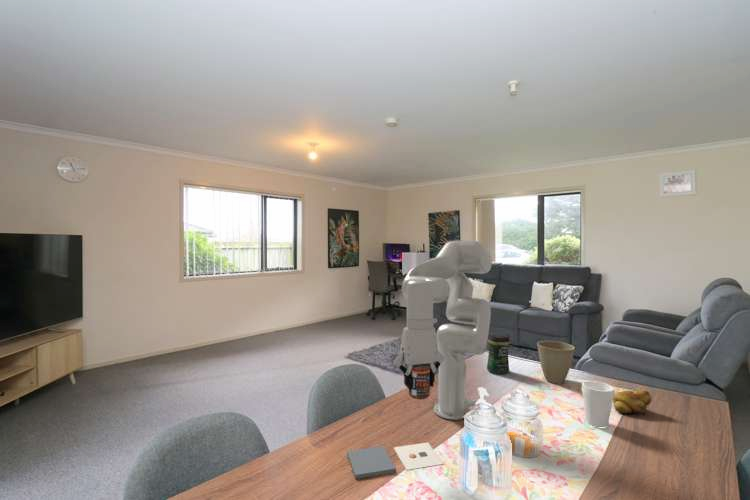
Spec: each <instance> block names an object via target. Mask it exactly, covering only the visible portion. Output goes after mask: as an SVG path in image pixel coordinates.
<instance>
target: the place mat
mask: <svg viewBox="0 0 750 500" xmlns="http://www.w3.org/2000/svg"><path fill="white" fill-rule="evenodd" d="M346 456H347V460H348V461H349V465H350V468H351V469H352V474H353V477H354V479H362V478H368V477H375V476H382V475H388V474H392V473H393V474H394V473H396V472H397V468H396V466H395V464H394V461H393V460H392V459H391V456H390V455H389V453H388V451H387V449H386V447H385V446H384V445H382V446H373V447H368V448H367V447H366V448H361V449H353V450H347V451H346Z"/></svg>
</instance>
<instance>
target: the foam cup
mask: <svg viewBox="0 0 750 500" xmlns="http://www.w3.org/2000/svg"><path fill="white" fill-rule="evenodd" d="M581 393H582V399H583V407H584V409H583V410H584V416H585V423H586V422H587V423H588V424H587V423H586V424H587V425H589V424H590V425H592V426H591V427H593V426H595V427H594V428H596V427H606V426H608V427H609V422H610V415H611V410H612V406H613V397H614V394H615V388H614V386H612V385H610V384H608V383H605V382H601V381H597V380H583V381H582V382H581ZM590 425H589V426H590Z"/></svg>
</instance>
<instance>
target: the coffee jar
mask: <svg viewBox="0 0 750 500" xmlns="http://www.w3.org/2000/svg"><path fill="white" fill-rule="evenodd" d="M510 340H511V339H510V334H509V333H508V332H507V333H506V332H503V331H502V332H500V331H499V332H490V333H488V340H487V343H488V358H487V363H486V364H487V365H486V370H487V371H488V372H489V371H490V372H489V373H491V372H492V373H493V374H496V375H499V374H508V373H509V372H510V364H509V363H510V362H509V346H510V342H511V341H510Z"/></svg>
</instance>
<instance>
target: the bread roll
mask: <svg viewBox="0 0 750 500" xmlns="http://www.w3.org/2000/svg"><path fill="white" fill-rule="evenodd" d="M651 402H652V396H651V393H649V392H648V391H647V390H635V391H632V390H628V389H622V391H618V392H614V397H613V401H612V403H613V407H614V409H615V410H616V411H617V412H618V413H621V412H622V414H625V413H629V414H632V413H631V412H634V413H633V414H638V413H639V414H642V413H641V412H643V413H645V412H646V411H647V408H648V406H649V405H650V404H651ZM644 411H645V412H644Z"/></svg>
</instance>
